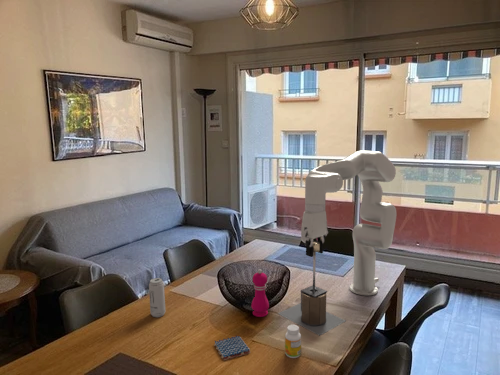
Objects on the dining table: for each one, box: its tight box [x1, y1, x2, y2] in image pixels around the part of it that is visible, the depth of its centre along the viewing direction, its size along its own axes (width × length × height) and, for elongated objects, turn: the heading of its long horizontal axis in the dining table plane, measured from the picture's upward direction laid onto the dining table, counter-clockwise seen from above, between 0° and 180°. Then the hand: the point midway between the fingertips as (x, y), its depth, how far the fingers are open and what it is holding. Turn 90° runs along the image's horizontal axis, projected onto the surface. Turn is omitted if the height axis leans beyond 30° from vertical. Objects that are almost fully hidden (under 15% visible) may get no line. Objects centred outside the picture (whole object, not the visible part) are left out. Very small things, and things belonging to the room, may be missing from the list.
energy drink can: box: [148, 277, 166, 318], centre depth 160 cm, size 6×6×15 cm
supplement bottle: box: [284, 324, 302, 359], centre depth 132 cm, size 5×5×10 cm
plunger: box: [305, 241, 322, 297], centre depth 149 cm, size 7×7×20 cm
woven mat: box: [213, 335, 251, 361], centre depth 136 cm, size 10×11×2 cm
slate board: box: [277, 302, 347, 336], centre depth 155 cm, size 16×22×1 cm
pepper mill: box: [250, 268, 270, 318], centre depth 157 cm, size 7×7×20 cm
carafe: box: [300, 284, 328, 326], centre depth 152 cm, size 10×11×12 cm
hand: (314, 253), depth 148 cm, fingers open, 4 cm apart
